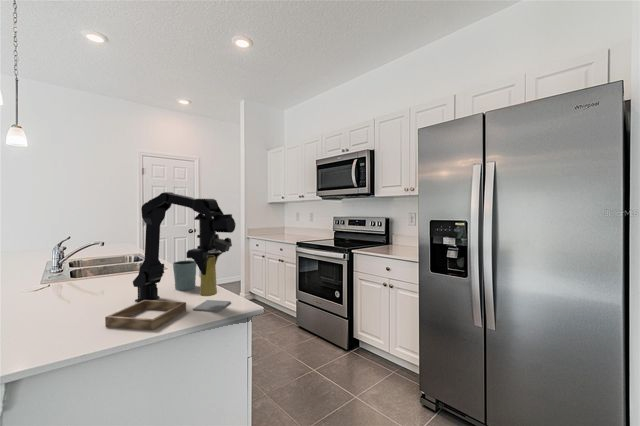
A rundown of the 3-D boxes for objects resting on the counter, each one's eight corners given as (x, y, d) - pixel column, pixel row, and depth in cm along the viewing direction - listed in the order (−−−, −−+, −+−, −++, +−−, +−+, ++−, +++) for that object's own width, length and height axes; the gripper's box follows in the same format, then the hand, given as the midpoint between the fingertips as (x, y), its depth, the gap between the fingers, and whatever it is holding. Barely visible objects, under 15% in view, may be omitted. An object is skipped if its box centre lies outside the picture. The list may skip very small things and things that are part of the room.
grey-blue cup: (181, 292, 131) (181, 265, 131) (168, 288, 136) (168, 262, 136) (201, 286, 140) (201, 261, 139) (188, 283, 145) (188, 259, 145)
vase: (211, 297, 109) (210, 258, 108) (196, 295, 110) (195, 257, 110) (220, 292, 115) (219, 255, 114) (205, 291, 116) (205, 254, 115)
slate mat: (193, 310, 109) (193, 308, 109) (207, 301, 119) (207, 299, 119) (218, 311, 108) (218, 310, 108) (230, 302, 118) (230, 301, 118)
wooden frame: (105, 326, 95) (105, 317, 95) (144, 307, 112) (144, 299, 112) (153, 329, 92) (153, 320, 92) (185, 310, 109) (185, 302, 109)
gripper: (215, 235, 101) (215, 280, 102) (238, 230, 120) (238, 268, 120) (185, 234, 103) (185, 278, 103) (212, 229, 121) (213, 267, 122)
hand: (208, 273), depth 112 cm, fingers closed on vase, 5 cm apart
